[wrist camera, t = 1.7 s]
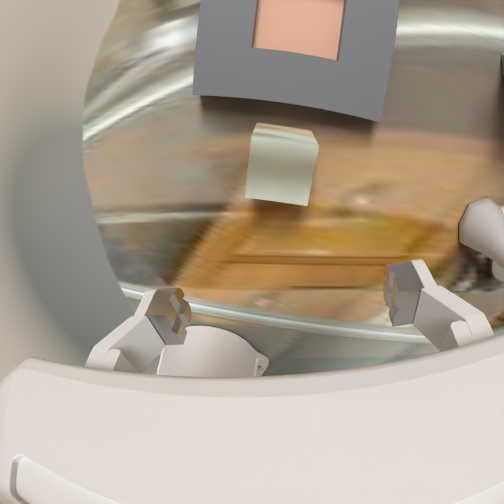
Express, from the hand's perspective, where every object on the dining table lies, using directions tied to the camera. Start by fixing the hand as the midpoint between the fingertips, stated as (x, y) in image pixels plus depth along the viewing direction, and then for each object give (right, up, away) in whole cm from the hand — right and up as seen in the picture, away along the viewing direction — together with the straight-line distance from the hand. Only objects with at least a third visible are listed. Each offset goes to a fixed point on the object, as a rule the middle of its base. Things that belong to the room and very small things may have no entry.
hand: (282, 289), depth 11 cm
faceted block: (+2, +11, +15) cm, 19 cm away
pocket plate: (+3, +21, +8) cm, 23 cm away
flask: (+27, +5, +17) cm, 32 cm away
